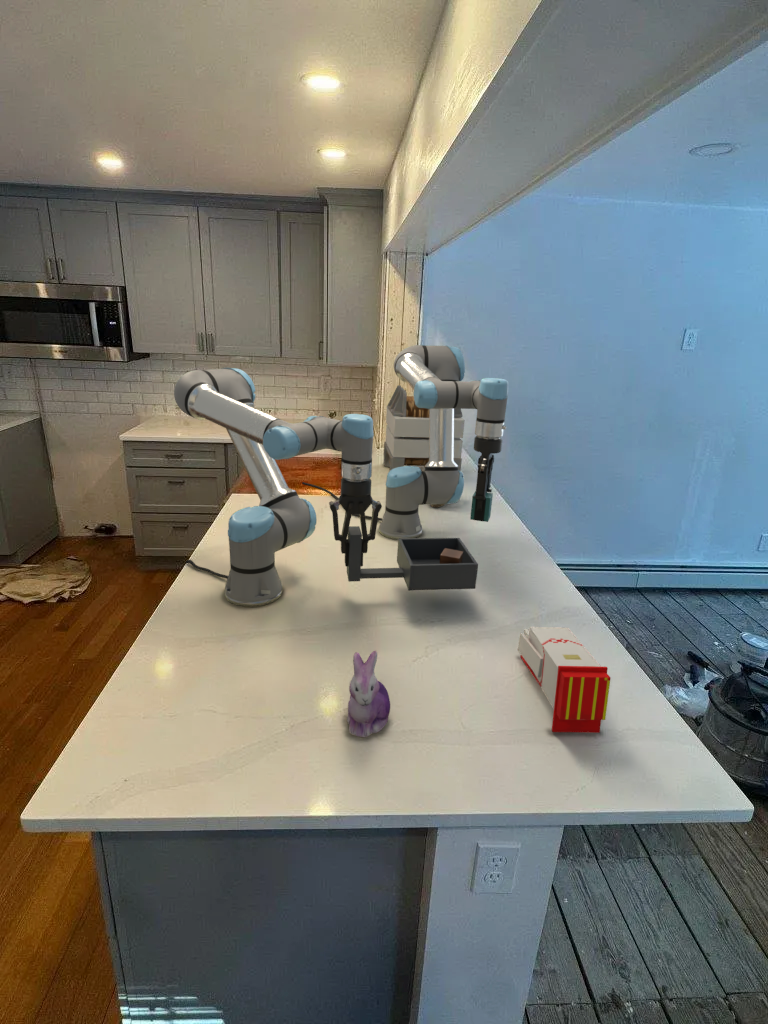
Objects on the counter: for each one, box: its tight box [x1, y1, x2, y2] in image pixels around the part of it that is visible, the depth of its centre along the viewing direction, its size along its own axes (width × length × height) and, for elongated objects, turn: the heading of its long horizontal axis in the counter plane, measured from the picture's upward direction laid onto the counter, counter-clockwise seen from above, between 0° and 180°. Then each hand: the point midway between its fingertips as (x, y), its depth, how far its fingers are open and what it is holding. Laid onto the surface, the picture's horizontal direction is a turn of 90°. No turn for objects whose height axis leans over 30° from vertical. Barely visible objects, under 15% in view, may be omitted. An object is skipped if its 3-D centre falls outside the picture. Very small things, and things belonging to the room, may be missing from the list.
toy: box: [517, 626, 611, 734], centre depth 119 cm, size 12×13×30 cm
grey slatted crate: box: [383, 384, 465, 472], centre depth 268 cm, size 34×33×41 cm
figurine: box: [346, 650, 391, 738], centre depth 106 cm, size 9×10×15 cm
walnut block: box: [439, 548, 463, 564], centre depth 149 cm, size 5×5×7 cm
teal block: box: [469, 490, 494, 523], centre depth 161 cm, size 5×5×7 cm
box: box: [346, 525, 479, 592], centre depth 150 cm, size 32×18×13 cm, turn 99°
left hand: (353, 563), depth 148 cm, fingers closed on box, 3 cm apart
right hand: (480, 517), depth 162 cm, fingers closed on teal block, 5 cm apart
